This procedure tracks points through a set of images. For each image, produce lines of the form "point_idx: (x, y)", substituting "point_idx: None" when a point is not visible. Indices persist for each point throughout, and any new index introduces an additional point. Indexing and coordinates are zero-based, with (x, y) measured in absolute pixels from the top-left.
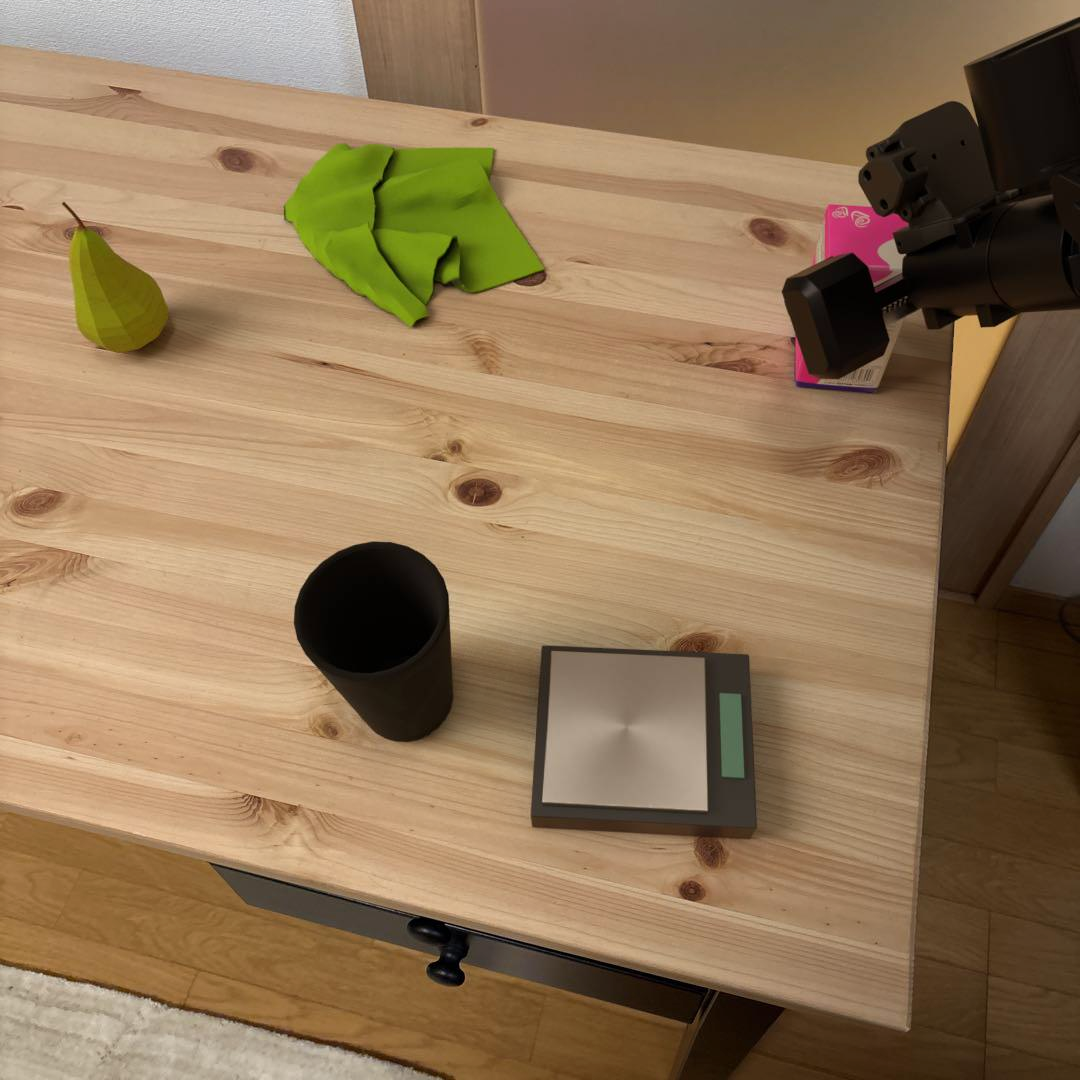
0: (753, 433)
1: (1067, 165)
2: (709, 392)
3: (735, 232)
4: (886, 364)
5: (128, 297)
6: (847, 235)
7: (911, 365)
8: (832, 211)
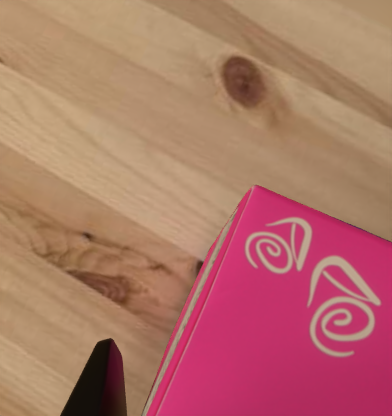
0: None
1: None
2: (51, 319)
3: (202, 69)
4: None
5: None
6: (255, 379)
7: None
8: (253, 227)
